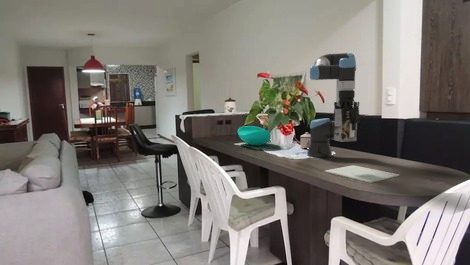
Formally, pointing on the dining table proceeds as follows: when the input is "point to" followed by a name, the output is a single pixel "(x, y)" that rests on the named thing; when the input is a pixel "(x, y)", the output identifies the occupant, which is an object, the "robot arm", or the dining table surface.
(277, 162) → the dining table surface
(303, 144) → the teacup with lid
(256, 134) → the table top decor
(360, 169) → the mat
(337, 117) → the coffee box
